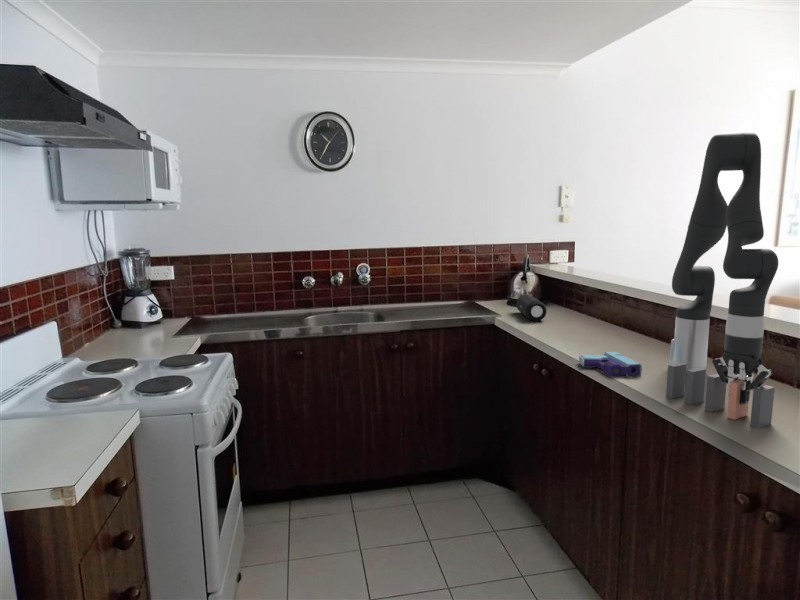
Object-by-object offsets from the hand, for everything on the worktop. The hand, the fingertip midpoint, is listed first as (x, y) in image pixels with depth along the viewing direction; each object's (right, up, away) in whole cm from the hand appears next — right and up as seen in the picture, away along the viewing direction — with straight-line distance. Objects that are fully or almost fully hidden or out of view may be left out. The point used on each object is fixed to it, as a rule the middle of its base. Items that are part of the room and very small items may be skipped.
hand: (738, 402), depth 124 cm
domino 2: (-5, -2, +11) cm, 12 cm away
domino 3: (-2, -3, +6) cm, 7 cm away
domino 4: (0, -4, +1) cm, 4 cm away
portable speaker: (-18, +16, +127) cm, 130 cm away
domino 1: (-7, -1, +15) cm, 17 cm away
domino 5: (+2, -4, -4) cm, 7 cm away
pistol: (-15, +2, +41) cm, 44 cm away
